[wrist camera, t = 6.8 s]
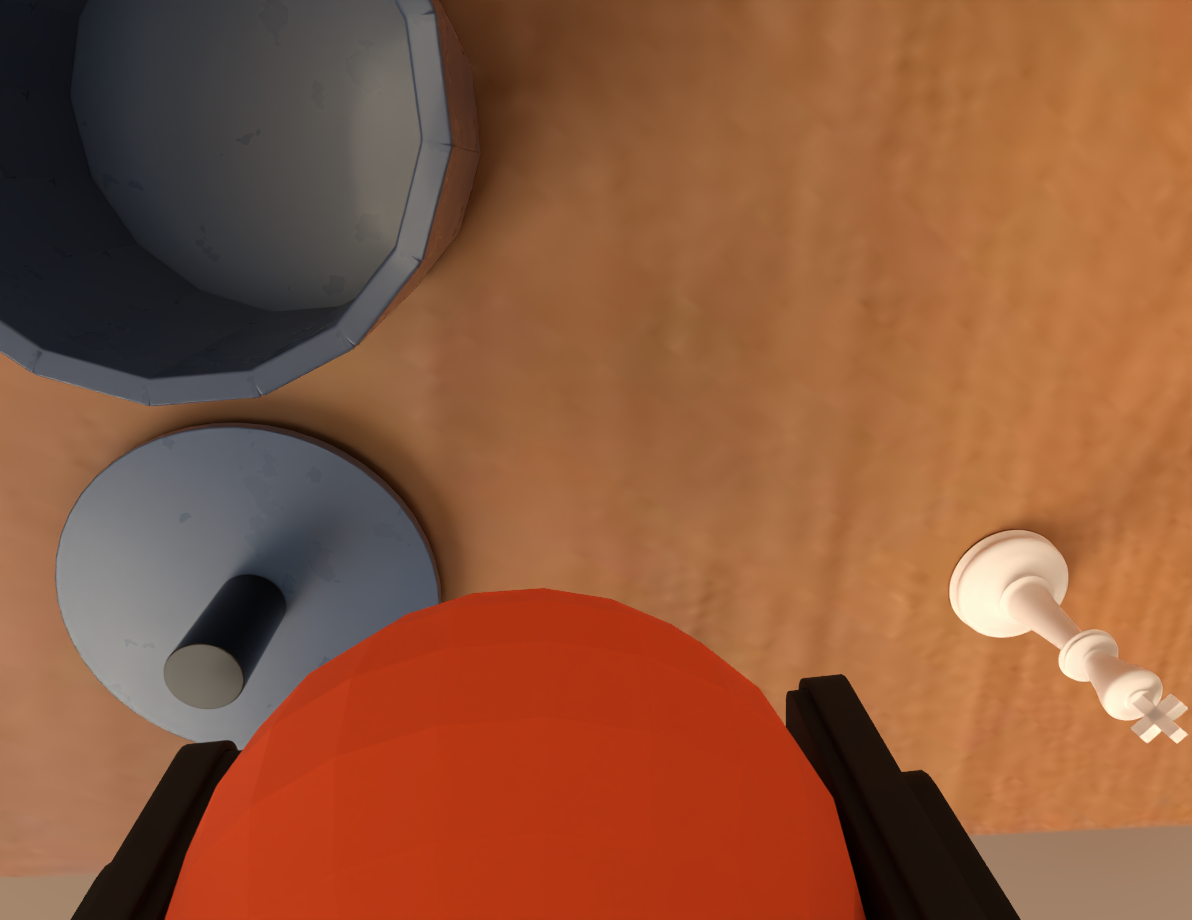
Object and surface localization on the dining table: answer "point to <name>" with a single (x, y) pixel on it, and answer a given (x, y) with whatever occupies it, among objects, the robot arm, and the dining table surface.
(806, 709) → the robot arm
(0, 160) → the tin
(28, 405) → the dining table surface
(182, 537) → the lid
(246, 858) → the clementine
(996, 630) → the chess piece
